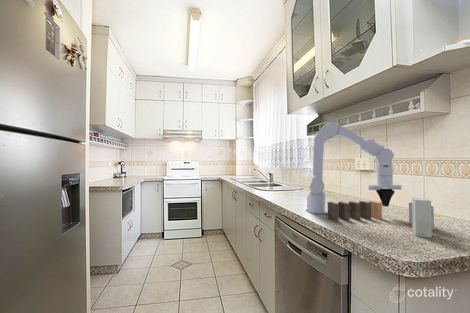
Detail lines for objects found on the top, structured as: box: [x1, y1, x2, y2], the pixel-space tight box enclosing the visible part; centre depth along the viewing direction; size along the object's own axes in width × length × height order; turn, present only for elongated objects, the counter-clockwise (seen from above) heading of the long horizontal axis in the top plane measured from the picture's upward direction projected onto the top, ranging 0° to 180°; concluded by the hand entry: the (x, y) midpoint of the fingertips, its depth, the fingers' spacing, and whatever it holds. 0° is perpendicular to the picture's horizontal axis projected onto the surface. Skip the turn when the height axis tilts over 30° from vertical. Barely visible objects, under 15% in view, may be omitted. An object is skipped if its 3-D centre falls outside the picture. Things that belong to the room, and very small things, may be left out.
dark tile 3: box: [348, 200, 361, 221], centre depth 101 cm, size 5×2×7 cm, turn 7°
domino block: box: [358, 200, 372, 221], centre depth 101 cm, size 5×2×7 cm, turn 7°
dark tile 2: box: [337, 201, 351, 221], centre depth 100 cm, size 5×2×7 cm, turn 7°
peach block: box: [369, 200, 383, 220], centre depth 102 cm, size 5×2×7 cm, turn 7°
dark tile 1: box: [327, 201, 339, 222], centre depth 99 cm, size 5×2×7 cm, turn 7°
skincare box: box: [411, 197, 433, 239], centre depth 78 cm, size 6×4×12 cm
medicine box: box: [408, 202, 435, 231], centre depth 87 cm, size 8×4×9 cm, turn 168°
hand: (385, 206), depth 103 cm, fingers closed
